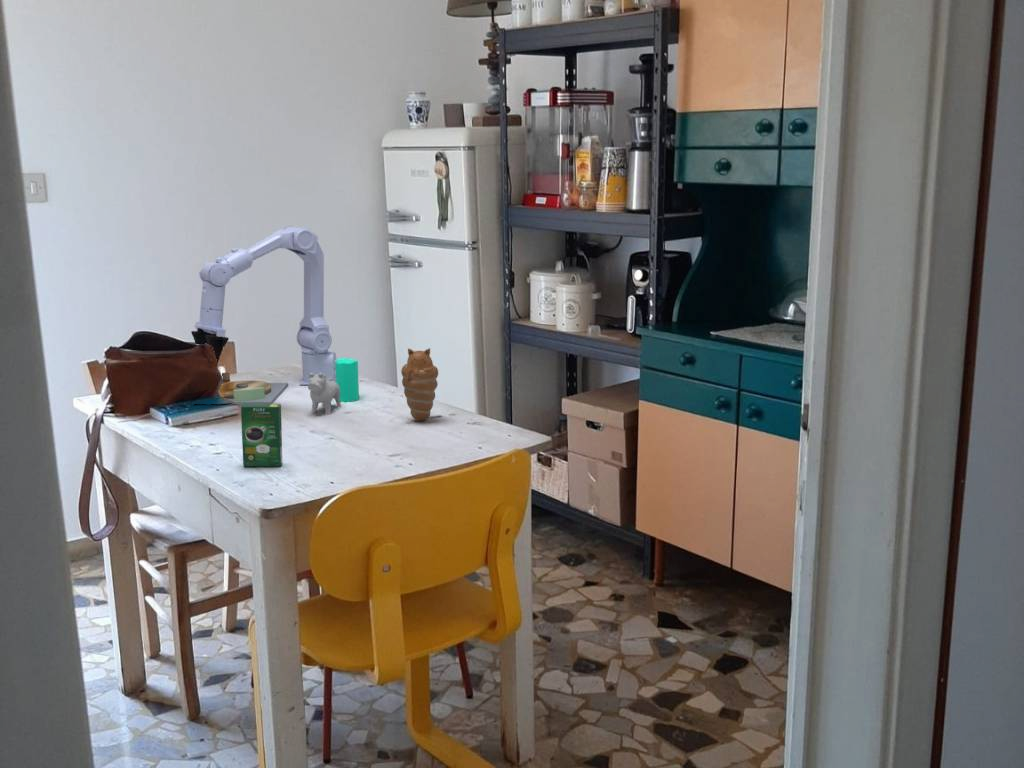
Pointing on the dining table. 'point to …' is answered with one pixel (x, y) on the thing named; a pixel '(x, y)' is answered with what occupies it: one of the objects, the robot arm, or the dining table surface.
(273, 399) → the grey flat square board
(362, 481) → the dining table surface
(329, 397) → the dog figurine
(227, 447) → the dining table surface
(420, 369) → the cat ice cream
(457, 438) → the dining table surface
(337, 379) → the candle
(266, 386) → the dial
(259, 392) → the pale green block
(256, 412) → the coffee box
